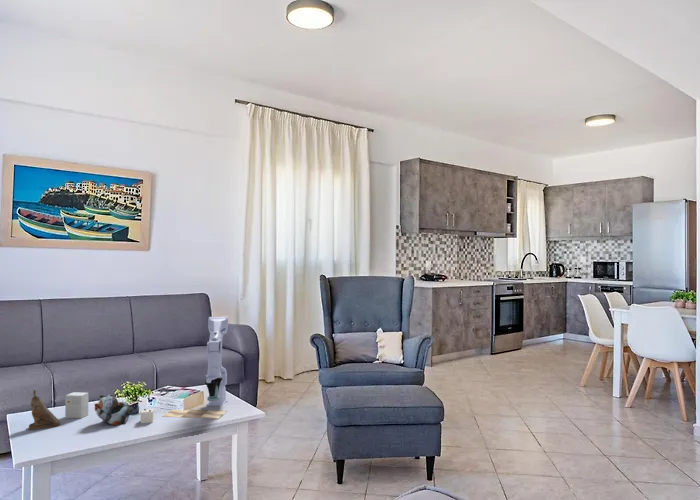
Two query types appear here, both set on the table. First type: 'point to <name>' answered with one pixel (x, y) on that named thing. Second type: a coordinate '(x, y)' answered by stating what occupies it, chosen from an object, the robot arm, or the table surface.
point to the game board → (195, 413)
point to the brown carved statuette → (41, 415)
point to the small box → (76, 405)
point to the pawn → (215, 397)
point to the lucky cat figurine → (112, 410)
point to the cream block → (147, 415)
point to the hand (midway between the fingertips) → (213, 394)
